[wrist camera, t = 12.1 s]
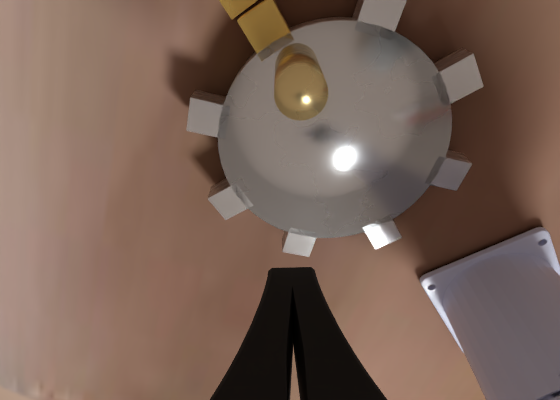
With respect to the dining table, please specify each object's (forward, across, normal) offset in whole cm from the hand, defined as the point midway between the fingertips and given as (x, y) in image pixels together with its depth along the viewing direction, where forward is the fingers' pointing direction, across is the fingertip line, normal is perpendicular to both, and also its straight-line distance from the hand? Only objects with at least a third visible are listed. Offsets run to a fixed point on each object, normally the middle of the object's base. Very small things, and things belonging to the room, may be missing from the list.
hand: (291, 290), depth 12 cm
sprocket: (+10, -2, -1) cm, 10 cm away
